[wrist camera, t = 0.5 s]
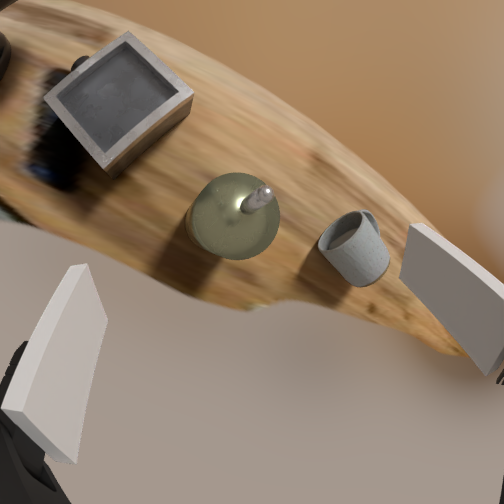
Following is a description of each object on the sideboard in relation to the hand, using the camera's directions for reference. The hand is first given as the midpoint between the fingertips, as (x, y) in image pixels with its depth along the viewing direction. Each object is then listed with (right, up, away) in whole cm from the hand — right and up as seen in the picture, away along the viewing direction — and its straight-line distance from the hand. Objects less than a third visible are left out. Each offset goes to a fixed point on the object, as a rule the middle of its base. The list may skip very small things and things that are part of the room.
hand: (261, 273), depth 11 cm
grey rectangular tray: (-18, +20, +22) cm, 34 cm away
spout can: (-5, +4, +26) cm, 27 cm away
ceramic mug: (+13, +2, +32) cm, 34 cm away
